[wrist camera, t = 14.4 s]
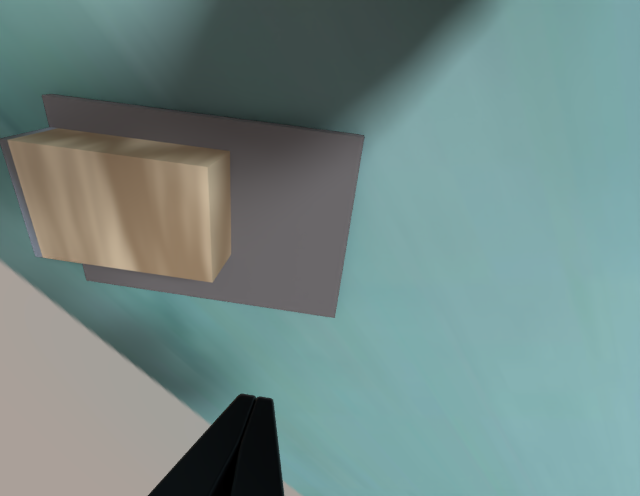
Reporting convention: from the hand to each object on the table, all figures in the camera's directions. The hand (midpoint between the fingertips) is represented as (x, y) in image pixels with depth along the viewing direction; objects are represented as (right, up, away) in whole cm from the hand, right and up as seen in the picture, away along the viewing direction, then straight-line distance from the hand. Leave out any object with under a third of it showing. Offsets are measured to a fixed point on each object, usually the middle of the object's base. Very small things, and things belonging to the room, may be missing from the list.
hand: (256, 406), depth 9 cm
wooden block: (-3, +5, +9) cm, 11 cm away
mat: (-5, +6, +12) cm, 14 cm away
